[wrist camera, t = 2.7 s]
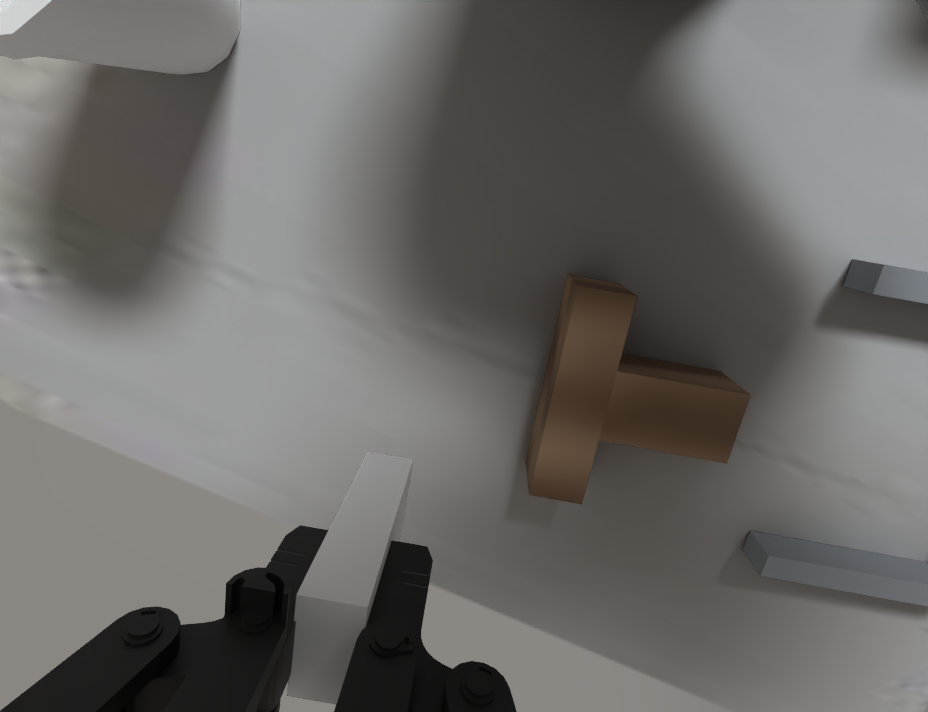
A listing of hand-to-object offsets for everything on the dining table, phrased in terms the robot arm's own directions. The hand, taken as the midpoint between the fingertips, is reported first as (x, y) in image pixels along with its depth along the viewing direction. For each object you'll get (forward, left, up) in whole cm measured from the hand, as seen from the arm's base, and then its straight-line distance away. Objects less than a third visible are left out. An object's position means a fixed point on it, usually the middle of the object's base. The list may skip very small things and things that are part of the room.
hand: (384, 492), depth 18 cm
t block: (0, +11, -16) cm, 19 cm away
